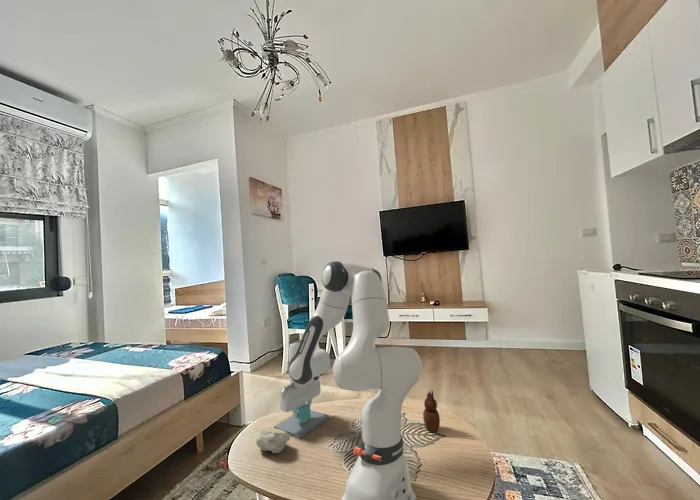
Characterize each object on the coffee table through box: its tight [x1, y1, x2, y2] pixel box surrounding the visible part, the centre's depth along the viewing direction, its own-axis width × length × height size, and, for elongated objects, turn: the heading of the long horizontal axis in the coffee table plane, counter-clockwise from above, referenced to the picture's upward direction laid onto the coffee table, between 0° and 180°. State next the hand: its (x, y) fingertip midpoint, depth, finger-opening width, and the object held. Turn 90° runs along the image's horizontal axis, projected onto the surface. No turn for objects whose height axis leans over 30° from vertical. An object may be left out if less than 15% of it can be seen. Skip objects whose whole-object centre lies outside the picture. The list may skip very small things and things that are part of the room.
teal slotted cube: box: [294, 402, 311, 422], centre depth 130 cm, size 5×5×5 cm
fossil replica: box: [255, 427, 291, 455], centre depth 112 cm, size 12×8×10 cm
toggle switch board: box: [273, 409, 330, 440], centre depth 130 cm, size 18×14×6 cm
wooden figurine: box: [422, 390, 441, 433], centre depth 121 cm, size 7×6×15 cm
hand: (302, 414), depth 130 cm, fingers closed on teal slotted cube, 5 cm apart
